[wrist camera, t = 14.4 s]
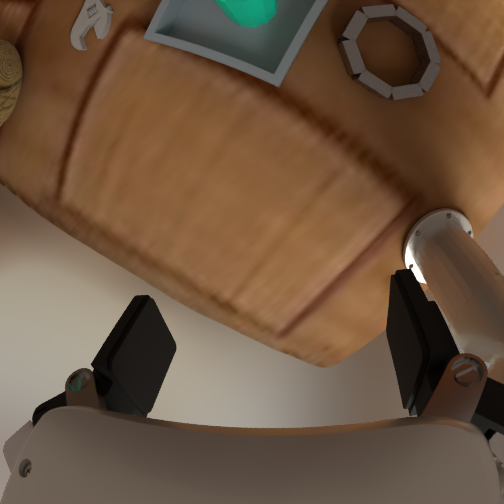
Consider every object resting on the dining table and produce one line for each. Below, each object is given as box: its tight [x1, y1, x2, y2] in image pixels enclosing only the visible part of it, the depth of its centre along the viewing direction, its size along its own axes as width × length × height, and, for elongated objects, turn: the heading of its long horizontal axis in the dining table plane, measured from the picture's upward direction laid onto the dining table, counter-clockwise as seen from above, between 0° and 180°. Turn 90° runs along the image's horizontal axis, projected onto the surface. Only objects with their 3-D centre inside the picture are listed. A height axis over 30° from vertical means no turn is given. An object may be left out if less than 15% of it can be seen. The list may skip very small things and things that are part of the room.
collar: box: [338, 4, 441, 100], centre depth 25 cm, size 12×12×3 cm
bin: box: [143, 0, 329, 88], centre depth 23 cm, size 16×16×5 cm
